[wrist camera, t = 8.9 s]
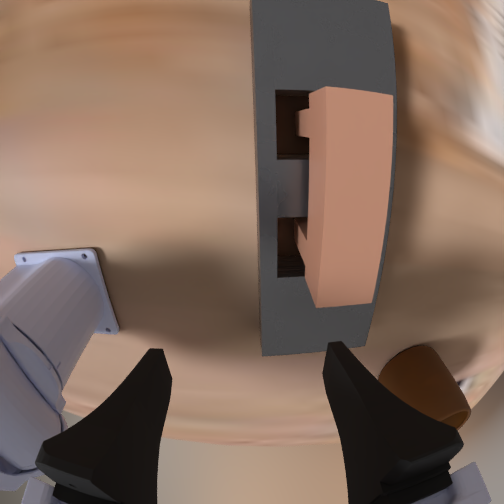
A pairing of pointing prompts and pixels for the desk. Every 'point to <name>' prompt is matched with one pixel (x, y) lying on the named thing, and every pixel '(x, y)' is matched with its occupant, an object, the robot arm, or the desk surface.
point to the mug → (426, 385)
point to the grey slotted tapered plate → (297, 165)
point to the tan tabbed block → (345, 192)
